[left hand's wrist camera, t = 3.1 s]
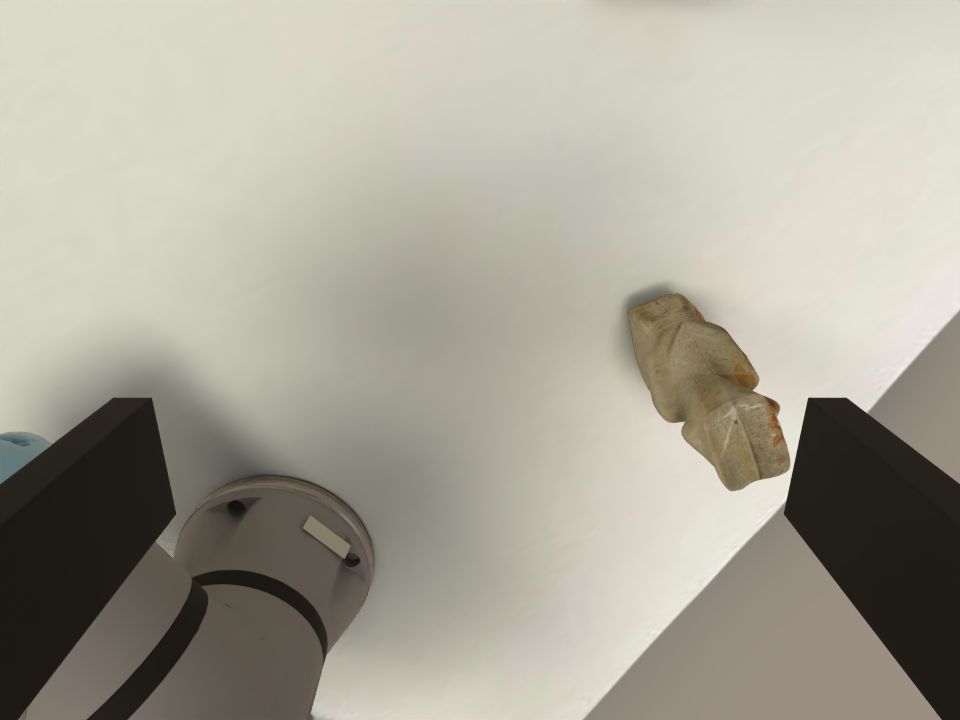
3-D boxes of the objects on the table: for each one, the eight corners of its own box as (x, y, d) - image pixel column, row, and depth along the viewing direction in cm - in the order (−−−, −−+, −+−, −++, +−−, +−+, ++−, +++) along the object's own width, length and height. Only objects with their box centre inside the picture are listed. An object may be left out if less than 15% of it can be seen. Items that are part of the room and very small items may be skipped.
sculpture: (633, 392, 45) (702, 514, 31) (606, 301, 43) (668, 390, 29) (712, 366, 45) (818, 480, 31) (690, 273, 42) (794, 351, 28)
